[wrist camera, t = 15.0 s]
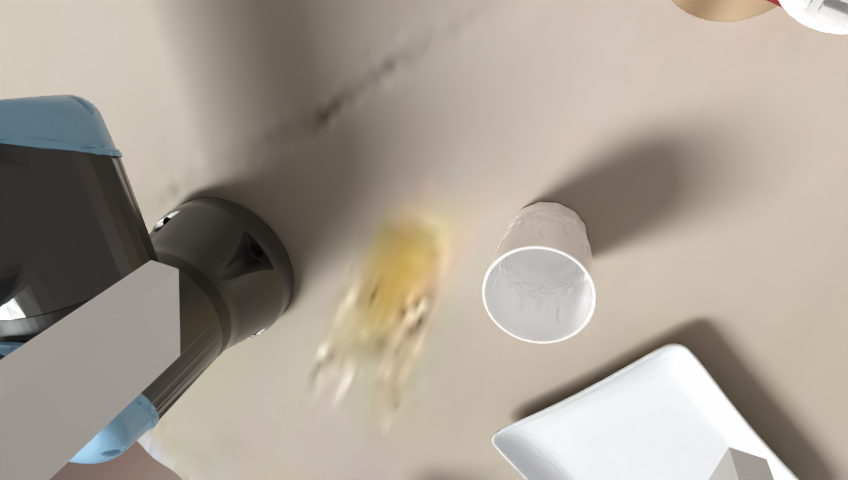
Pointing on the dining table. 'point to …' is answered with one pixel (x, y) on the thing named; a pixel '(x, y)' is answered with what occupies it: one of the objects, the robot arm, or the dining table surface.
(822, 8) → the paper cup
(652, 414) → the salad plate
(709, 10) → the mat
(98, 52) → the dining table surface
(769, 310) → the dining table surface
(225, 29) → the dining table surface
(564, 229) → the white cup
